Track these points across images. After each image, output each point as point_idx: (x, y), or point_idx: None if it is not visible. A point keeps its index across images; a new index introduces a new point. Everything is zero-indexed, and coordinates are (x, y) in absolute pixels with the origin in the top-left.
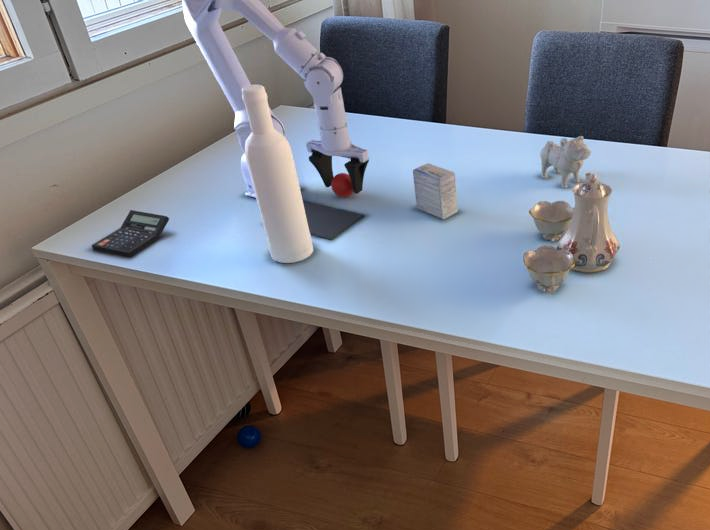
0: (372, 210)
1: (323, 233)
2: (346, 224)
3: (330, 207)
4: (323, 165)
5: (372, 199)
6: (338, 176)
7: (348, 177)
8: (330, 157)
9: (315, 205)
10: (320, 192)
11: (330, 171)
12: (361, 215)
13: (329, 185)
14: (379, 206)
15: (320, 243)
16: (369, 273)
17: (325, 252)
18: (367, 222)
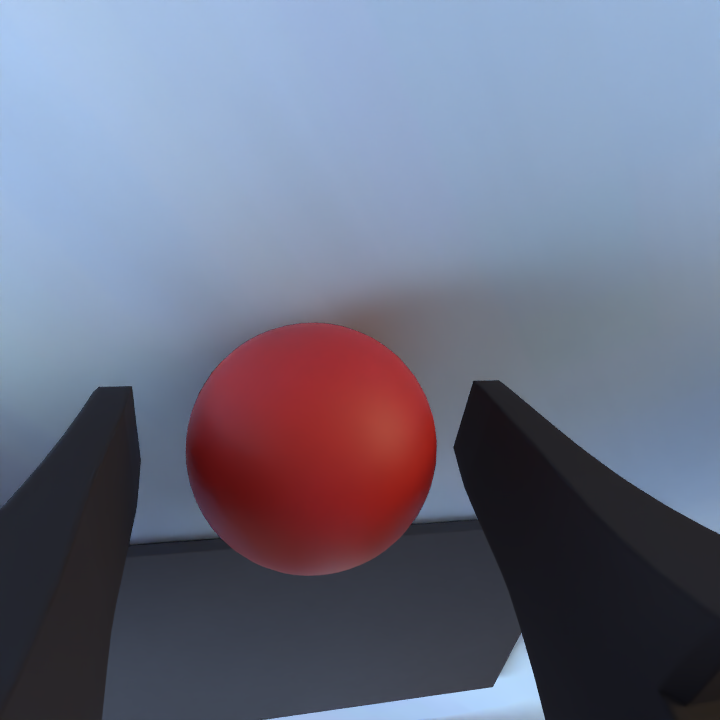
0: (603, 448)
1: (444, 684)
2: None
3: None
4: (91, 699)
5: (557, 330)
6: (321, 570)
7: (413, 505)
8: (45, 657)
9: (202, 571)
10: (14, 396)
11: (101, 511)
12: None
13: (137, 450)
14: (638, 394)
15: (457, 700)
16: None
17: (506, 714)
18: None
